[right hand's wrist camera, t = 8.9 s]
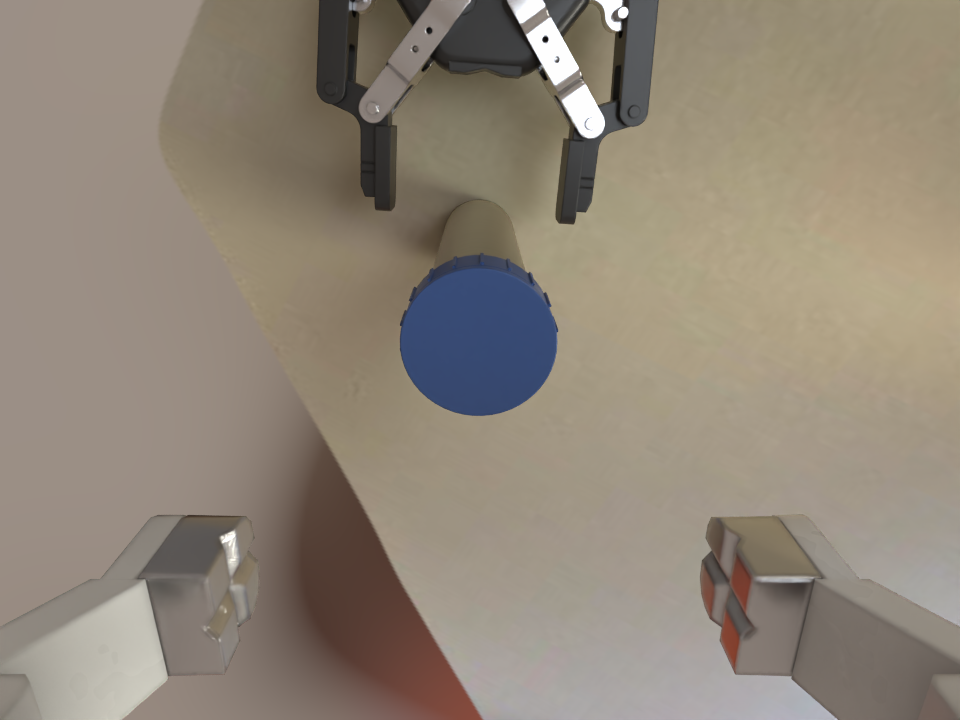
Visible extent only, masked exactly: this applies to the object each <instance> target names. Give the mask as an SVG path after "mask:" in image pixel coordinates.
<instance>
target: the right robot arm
mask: <svg viewBox="0 0 960 720" xmlns="http://www.w3.org/2000/svg"><path fill="white" fill-rule="evenodd" d="M253 540H254V533H253V528H252V523H251V520H249V519H248V518H247V517H246V516H207V515H187V516H185V515H157V516H154V517H151V518H150V519H149V520H148V521H147V523H146V524H145V525H144V526H143V527H142V529H141V530H140V531H139V532H138V534H137V535H136V536H135V537H134V539H133V540H132V541H131V542H130V543H129V545H128V546H127V547H126V548H125V550H124V551H123V552H122V553H121V554H120V556H119V557H118V558H117V559H116V560H115V562H114V563H113V564H112V565H111V567H110V568H109V569H108V570H107V571H106V573H105V574H104V575H103V576H102V578H101V579H90V580H88V581H86V582H84V583H82V584H81V585H79V586H77V587H75V588H73V589H71V590H69V591H67V592H65V593H63V594H62V595H60V596H58V597H56V598H54V599H52V600H50V601H48V602H46V603H45V604H43V605H41V606H39V607H37V608H35V609H33V610H31V611H29V612H27V613H25V614H24V615H22V616H20V617H18V618H16V619H14V620H12V621H10V622H8V623H6V624H5V625H3V626H1V627H0V720H122V719H123V718H125V717H126V716H127V715H128V714H129V713H130V712H131V711H133V710H134V709H135V708H136V707H137V706H138V705H139V704H141V703H142V702H143V701H144V700H145V699H146V698H147V697H149V696H150V695H151V694H152V693H153V692H154V691H156V690H157V689H158V688H159V687H160V686H161V685H162V684H163V683H165V682H166V681H167V680H168V676H188V675H222V674H225V673H226V670H227V668H228V666H229V664H230V662H231V660H232V657H233V655H234V653H235V651H236V649H237V647H238V644H239V642H240V636H239V629H238V627H240V626H241V625H242V624H244V623H245V622H246V621H248V620H249V619H250V618H251V615H252V613H253V611H254V608H255V606H256V602H257V597H258V592H259V587H260V572H259V564H258V560H257V559H256V558H255V557H254V556H253V555H252V554H251V553H250V552H249V551H248V549H249V548H250V546H251V544H252V542H253ZM706 540H707V542H708V544H709V546H710V548H711V549H712V551H711V552H710V553H709V554H708V555H707V556H706V557H705V558H704V559H703V560H702V565H701V574H700V582H701V594H702V598H703V602H704V606H705V609H706V611H707V613H708V615H709V618H710V619H711V620H712V621H714V622H715V623H716V624H718V625H719V626H720V627H722V629H721V636H720V642H721V644H722V647H723V649H724V651H725V653H726V655H727V657H728V659H729V662H730V664H731V666H732V668H733V670H734V672H735V674H736V675H772V676H792V678H791V679H792V680H793V681H795V682H796V683H797V684H798V685H799V686H800V687H801V688H803V689H804V690H805V691H806V692H807V693H808V694H809V695H811V696H812V697H813V698H814V699H815V700H816V701H817V702H819V703H820V704H821V705H822V706H823V707H824V708H825V709H827V710H828V711H829V712H830V713H831V714H832V715H833V716H835V717H836V718H837V719H838V720H960V627H959V626H957V625H955V624H953V623H951V622H950V621H948V620H946V619H944V618H942V617H940V616H938V615H936V614H934V613H932V612H931V611H929V610H927V609H925V608H923V607H921V606H919V605H917V604H915V603H914V602H912V601H910V600H908V599H906V598H904V597H902V596H900V595H898V594H897V593H895V592H893V591H891V590H889V589H887V588H885V587H883V586H881V585H879V584H878V583H876V582H874V581H872V580H870V579H859V578H858V576H857V575H856V574H855V573H854V572H853V570H852V569H851V568H850V567H849V565H848V564H847V563H846V562H845V561H844V559H843V558H842V557H841V556H840V554H839V553H838V552H837V551H836V550H835V548H834V547H833V546H832V545H831V543H830V542H829V541H828V540H827V539H826V537H825V536H824V535H823V534H822V532H821V531H820V530H819V529H818V528H817V526H816V525H815V524H814V523H813V522H812V520H811V519H810V518H809V517H807V516H805V515H774V516H756V517H711V519H710V521H709V523H708V526H707V532H706Z"/></svg>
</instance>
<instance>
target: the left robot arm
mask: <svg viewBox="0 0 960 720" xmlns="http://www.w3.org/2000/svg"><path fill="white" fill-rule="evenodd" d="M375 1H376V0H319V27H318V58H317V93H318V95H319V97H320V98H321V99H322V100H323V101H324V102H326V103H328V104H332V105H334V106H337V107H339V108H341V109H343V110H345V111H348V112H350V113H351V114H353V115H354V116H355V117H356V118H357V120H358V122H359V124H360V128H361V187H362V189H363V192H364V195H365V196H367V197H375V209H376V210H381V211H391V210H392V209H393V208H394V207H395V199H396V151H397V126H395V125H392V115H393V114H394V113H395V111H396V110H397V109H398V108H399V106H400V105H401V104H402V102H403V101H404V100H405V98H406V97H407V96H408V95H409V93H410V92H411V91H412V89H413V88H414V87H415V86H416V85H417V84H418V83H419V82H420V81H421V79H422V78H423V77H424V75H425V74H426V73H427V72H428V70H429V69H430V68H431V66H432V65H433V64H434V62H435V63H436V64H437V65H438V66H440V67H441V68H443V69H444V70H446V71H449V72H450V73H451V74H464V75H468V74H473V73H478V72H482V71H486V72H489V73H492V74H494V75H497V76H500V77H505V78H518V79H519V78H520V77H522V76H525V75H528V74H530V73H532V72H533V71H534V70H536V71H537V73H538V75H539V76H540V78H541V80H542V82H543V83H544V85H545V87H546V89H547V90H548V92H549V93H550V95H551V96H552V97H553V99H554V101H555V102H556V104H557V106H558V108H559V109H560V111H561V113H562V115H563V116H564V118H565V120H566V122H567V123H568V125H569V127H570V129H569V138H568V139H566V138H564V139H563V148H562V157H561V166H560V176H559V185H558V194H557V203H556V220H557V221H558V223H559V224H574V223H575V219H576V212H586V211H587V209H588V207H589V206H590V204H591V202H592V195H593V187H594V178H595V171H596V163H597V156H598V148H599V144H600V142H601V140H602V139H603V138H604V137H605V136H606V135H607V134H609V133H611V132H614V131H617V130H620V129H624V128H627V127H630V126H632V127H634V126H638V125H640V124H641V123H643V122H644V120H645V119H646V117H647V114H648V106H649V95H650V85H651V74H652V64H653V53H654V43H655V32H656V22H657V12H658V1H659V0H397V1H398V3H399V5H400V6H401V8H402V10H403V12H404V13H405V15H406V17H407V18H408V20H409V22H410V23H411V25H412V28H411V30H410V31H409V32H408V34H407V35H406V36H405V38H404V39H403V40H402V42H401V43H400V44H399V46H398V47H397V48H396V50H395V51H394V52H393V54H392V55H391V57H390V58H389V60H388V61H387V64H386V66H385V67H384V69H383V70H382V72H381V73H380V74H379V76H378V77H377V78H376V80H375V81H374V82H373V84H372V85H371V86H370V88H367V87H365V86H363V85H360V84H358V83H356V66H357V47H358V28H359V14H367V13H369V12H370V11H371V10H372V9H373V7H374V5H375ZM589 3H590V4H593V5H595V6H596V7H597V8H598V9H599V11H600V13H601V20H602V25H603V27H604V28H605V30H607V31H608V32H610V33H616V34H615V47H614V60H613V74H612V87H611V100H610V102H607V103H603V104H600V105H597V104H596V102H595V101H594V99H593V97H592V95H591V93H590V91H589V90H588V88H587V86H586V84H585V82H584V80H583V76H582V74H581V72H580V70H579V68H578V66H577V64H576V62H575V60H574V59H573V57H572V55H571V53H570V51H569V49H568V48H567V46H566V44H565V42H564V40H563V39H562V38H563V36H564V35H565V34H566V32H567V31H568V30H569V29H570V27H571V26H572V25H573V24H574V22H575V21H576V20H577V19H578V17H579V16H580V15H581V13H582V12H583V11H584V10H585V8H586V7H587V5H588V4H589Z"/></svg>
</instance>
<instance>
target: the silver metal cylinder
mask: <svg viewBox="0 0 960 720" xmlns="http://www.w3.org/2000/svg"><path fill="white" fill-rule="evenodd" d="M480 253H484V255H488V256H495V257H498V258H502V259H505V260H506V259H507V258H508V259H510V262H512V263H514V264H516V265H517V266H519V267H521V268H522V269H523V270H525V268H524V264H523V261H522V257H521V254H520V250H519V247H518V243H517V240H516V236H515V233H514V229H513V225H512V223H511V220H510V218H509V216H508V215H507V213H506V212H505V211H504V210H503V209H502V208H501V207H499V206H498V205H496V204H494V203H492V202H489V201H485V200H472V201H468V202H466V203H464V204H462V205H460V206H459V207H457V208H456V209H455V210H454V211H453V212H452V213H451V215H450V216H449V218H448V220H447V222H446V225H445V229H444V232H443V236H442V239H441V243H440V246H439V249H438V253H437V256H436V260H435V263H434V267H433V269H435V268H437V267H438V266H440V265H442V264H444V263H445V262H448V261H450V260H453V257H455V256H457V258H459V257H463V256H469V255H480Z"/></svg>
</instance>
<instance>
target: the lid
mask: <svg viewBox="0 0 960 720" xmlns="http://www.w3.org/2000/svg"><path fill="white" fill-rule="evenodd" d="M409 301H410V303H409V306H408V308H407V311H406V310H405V312H404V314H403V317H402V320H401V322H400V326H402V327H401V334H400V351H401V356H402V360H403V363H404V367H405V369H406V371H407V373H408V375H409V377H410V379H411V380H412V382H413V383H414V385H415V386H416V387H417V388H418V389H419V390H420V392H422V393H423V394H424V395H425V396H426V397H427V398H428V399H430V400H431V401H432V402H434V403H435V404H437V405H439V406H441V407H443V408H445V409H447V410H450V411H452V412H456V413H460V414H464V415H472V416H485V415H493V414H498V413H502V412H505V411H508V410H510V409H512V408H515V407H517V406H519V405H520V404H522V403H523V402H525V401H526V400H528V399H529V398H530V397H531V396H533V395H534V394H535V393H536V392H537V391H538V390H539V389H540V387H541V386H542V385H543V383H544V382H545V381H546V379H547V378H548V376H549V374H550V372H551V370H552V367H553V364H554V361H555V357H556V352H557V332H558V328H557V325H556V322H555V320H554V317H553V316H552V313H551V311H550V308H549V307H551V304H550V301H549V298H548V296H547V293H546V292H545V293H543V291H542V289H541V288H540V286H539V285H538V284H537V282H536V281H535V280H534V279H533V275H532V273H531V272H529V273H527V272H526V271H525V270H523V269H522V268H521V267H519V266H517V265H516V264H514V263H512V262H510V259H508V258H507V259H506V260H505V259H502V258H498V257H495V256H488V255H484V253H480V255H469V256H463V257H459V258H457V256H455V257H453V260H450V261H448V262H445V263H444V264H442V265H440V266H438V267H437V268H435V269H433V268H432V269H430V272H429V274H428V275H427V276H426V277H425V278H424V279H423V280H422V281H421V283H420V284H419V285H418V287H417V288H416V287H414V289H413V291H412V294H411V296H410V299H409Z"/></svg>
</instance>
